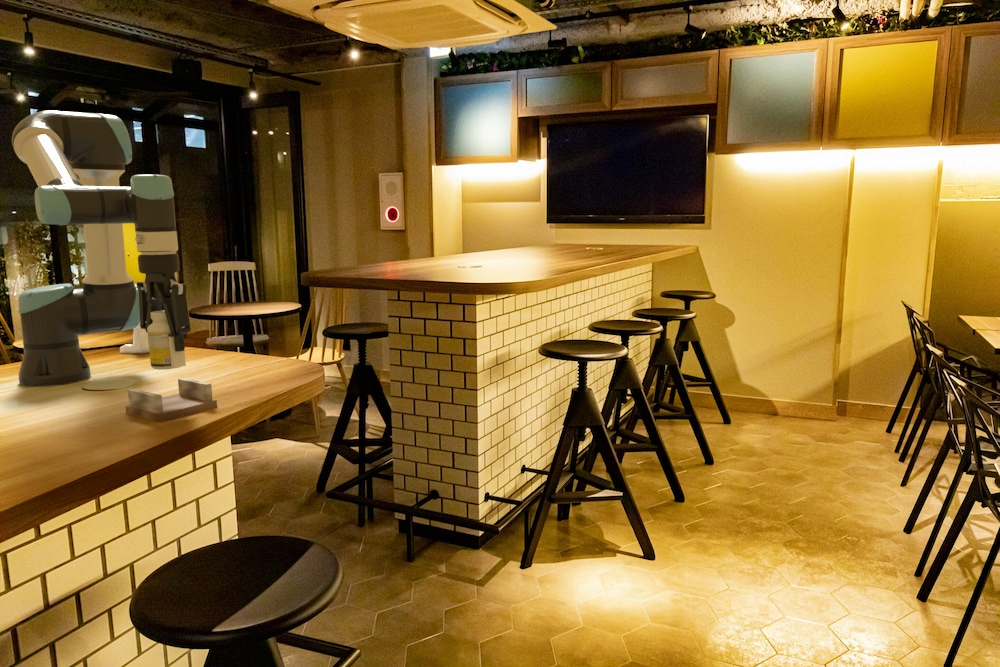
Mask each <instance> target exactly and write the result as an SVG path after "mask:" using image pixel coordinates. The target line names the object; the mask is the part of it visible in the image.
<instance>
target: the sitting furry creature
mask: <svg viewBox="0 0 1000 667" xmlns="http://www.w3.org/2000/svg"><path fill="white" fill-rule="evenodd" d="M145 323H146V322H145ZM132 330H133V331H132V336H131V337H132V343H128V344H124V345H122V346H120V347H119V352H120V353H121V354H148V353H149V354H150V352H149V342H148V333H147V332H146V330H145V329H141V327H140V323H139V325H138V326H137V327H136V328H134V329H132Z"/></svg>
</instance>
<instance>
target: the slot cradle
mask: <svg viewBox="0 0 1000 667" xmlns="http://www.w3.org/2000/svg"><path fill="white" fill-rule="evenodd" d="M177 384H178V393H175V394H171V395H168V396H167V395H166V396H162V394H158V393H154V392H150V391H144V390H139V389H136V388H131V389H127V394H128V404H129V405H126V406H125V407H124V408H125V413H126V414H128V415H132V416H136V417H139V418H142V417H143V418H142V419H147V420H151V421H154V422H157V421H158V423H162V422H166V421H170V420H173V419H176V418H180V417H185V416H189V415H191V414H196V413H198V412H199V413H200V412H203V411H207V410H210V409H213V408H217V407H218V400H217V399H214V398H213V389H212V388H213V387H212V383H211V382H205V381H200V380H195V379H190V378H185V377H181V378H178V379H177ZM161 421H162V422H161Z"/></svg>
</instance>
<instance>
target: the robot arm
mask: <svg viewBox="0 0 1000 667" xmlns="http://www.w3.org/2000/svg"><path fill="white" fill-rule="evenodd" d="M128 131H129V130H128V129H127V127H126V125H125V123H124V121H123V120H122V119H121V118H120V117H118V116H117V115H113V114H108V113H107V114H106V113H105V114H104V113H99V112H98V113H97V112H96V113H94V112H79V111H64V110H63V111H61V110H53V109H52V110H50V109H49V110H42V111H38V112H34V113H32V114H29V115H28V116H25V118H23V119H22V120H20V122H18V123H17V125H16V126H15V128H14V129H13V132H12V135H11V145H12V148H13V151H14V152H15V154H16V156H17V157H18V159H19V160H20V161H21V162H23V163H24V164H26V165H27V167H28V169H29V171H30V173H31V175H32V176H33V179H34V181H35V182H36V185H37V186H38V187H36V188H35V191H34V206H35V211H36V215H37V219H38V221H40V223H41V224H44V225H58V226H66V225H83V230H84V244H85V252H86V253H85V254H86V265H87V275H86V276H85V277H84V278H82V280H81V286H82V287H80V288H74V285H73V284H72V283H69V282H68V283H58V284H51V285H44V286H38V287H35V288H30V289H26V290H24V291H22V292H20V294H19V296H18V298H17V299H18V300H17V301H18V302H17V303H18V311H17V312H18V314H19V317H20V318H19V319H20V327H21V335H22V336H21V337H22V344H23V355H22V360H21V364H20V367H19V372H18V382H19V385H20V386H24V387H50V386H59V385H65V384H72V383H77V382H80V381H84V380H87V379H89V378H90V377H91V376H92V375H91V373H92V372H91V367H90V365H89V363H88V361H87V358H86V357H85V356H84V355H85V354H84V353H83V351H82V349H81V347H80V339H79V336H82V335H83V336H84V335H92V334H100V333H101V334H102V333H111V332H113V333H114V332H117V333H119V332H120V333H121V332H122V331H127V330H128V331H129V330H133V329H134V328H136V327H137V326H138V325H139V323H140V327H141V329H145V330H146V332H147V328H148V326H149V325H150V324H152V323H153V320H152V319H151V312H153V311H160V310H164V311H165V314H166V318H167V321H168V325H169V328H170V332H171V333H170V334H168V336H169V346H170V357H171V368H173V369H178V368H182V367H186V354H185V349H186V347H185V335H186V334H187V333H190V332H191V322H190V316H189V309H188V302H187V301H188V300H187V284H186V283H178V281H177V279H176V278H177V277H176V275H175V274H176V273H178V272H180V270H181V268H180V257H179V254H178V253H176V252H177V251H178V250H179V243H178V231H177V224H176V223H177V222H176V210H175V199H174V197H175V192H174V189H173V188H174V187H173V182H172V179H171V177H170V176H168V175H165V174H135V175H132V176H131V178H130V186H120V177H122V174H124V173H125V172H126V166H125V165H128V164H130V163H131V162H132V161H133V150H132V149H133V148H132V142H131V138H130V134H129V132H128ZM123 224H133V225H134V232H135V242H136V250H137V252H139V253H140V254H139V255H138V256H137V265H138V271H139V273H141V274H145V278H144V280H143V281H136V283H135V281H134V278H133V277H132V276H131V275H130V274H129V273H128V272H127V263H126V250H125V239H124V237H125V236H124V227H123V226H124V225H123ZM145 322H146V323H145ZM177 367H178V368H177Z"/></svg>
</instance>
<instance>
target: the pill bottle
mask: <svg viewBox="0 0 1000 667" xmlns="http://www.w3.org/2000/svg"><path fill="white" fill-rule="evenodd" d="M151 319H152V320H153V323H152V324H150V325H149V326H148V328H147V333H148V342H149V360H150V362H149V363H150V366H151V368H152V369H153V370H171V369H174V368H171V357H170V346H169V336H168V334H170V333H171V332H170V328H169V325H168V321H167V318H166V314H165V311H164V309H162V310H160V311H153V312H151ZM178 368H179V367H177V368H176V369H178Z"/></svg>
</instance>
